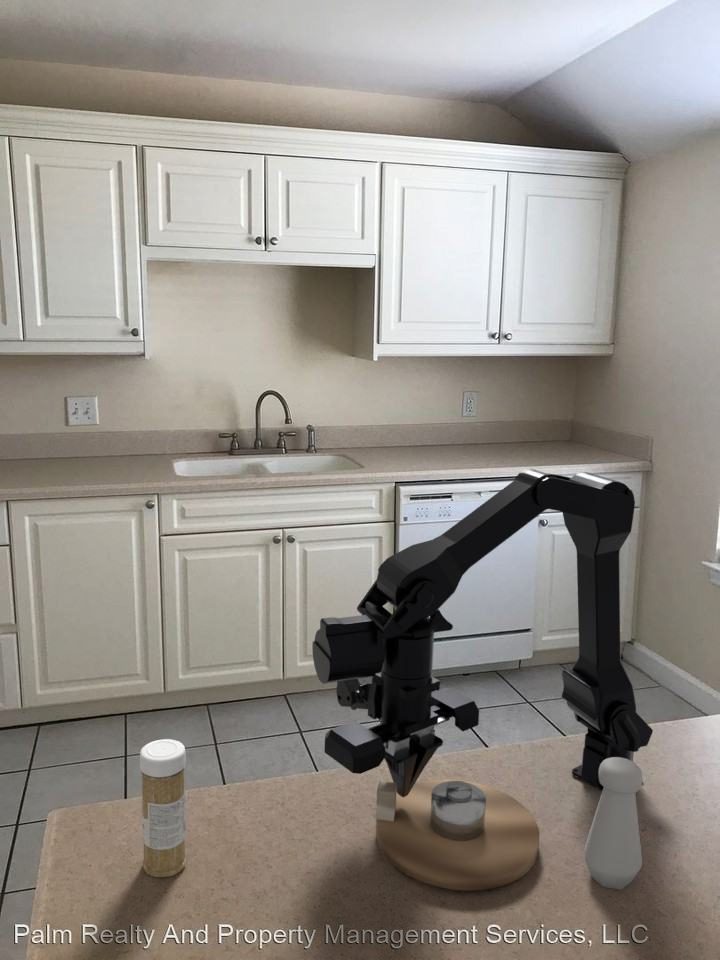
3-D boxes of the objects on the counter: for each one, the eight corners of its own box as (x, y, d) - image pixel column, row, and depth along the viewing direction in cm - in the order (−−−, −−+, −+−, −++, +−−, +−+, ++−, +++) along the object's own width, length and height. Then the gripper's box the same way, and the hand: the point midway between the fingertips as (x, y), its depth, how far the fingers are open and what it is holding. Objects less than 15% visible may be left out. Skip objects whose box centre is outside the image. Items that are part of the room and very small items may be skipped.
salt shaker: (628, 859, 91) (639, 749, 88) (648, 895, 85) (660, 779, 82) (575, 858, 90) (585, 749, 88) (591, 894, 85) (602, 779, 82)
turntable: (386, 783, 103) (388, 745, 102) (534, 799, 100) (537, 761, 99) (364, 877, 85) (365, 834, 84) (542, 901, 83) (546, 856, 82)
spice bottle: (148, 851, 90) (146, 736, 87) (191, 852, 90) (189, 737, 87) (137, 879, 85) (134, 759, 82) (181, 880, 85) (180, 760, 82)
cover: (432, 805, 96) (434, 770, 95) (484, 812, 95) (487, 776, 94) (427, 837, 90) (429, 799, 89) (483, 844, 89) (486, 806, 88)
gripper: (420, 628, 104) (416, 741, 107) (296, 664, 93) (295, 790, 96) (485, 658, 96) (478, 780, 99) (357, 701, 84) (354, 838, 88)
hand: (402, 795), depth 96 cm, fingers closed
